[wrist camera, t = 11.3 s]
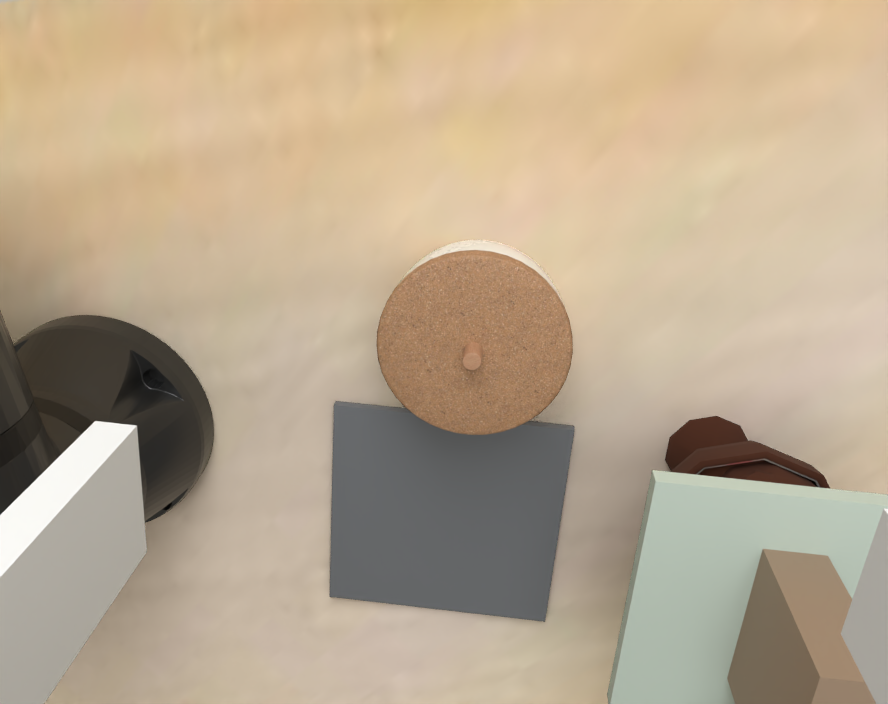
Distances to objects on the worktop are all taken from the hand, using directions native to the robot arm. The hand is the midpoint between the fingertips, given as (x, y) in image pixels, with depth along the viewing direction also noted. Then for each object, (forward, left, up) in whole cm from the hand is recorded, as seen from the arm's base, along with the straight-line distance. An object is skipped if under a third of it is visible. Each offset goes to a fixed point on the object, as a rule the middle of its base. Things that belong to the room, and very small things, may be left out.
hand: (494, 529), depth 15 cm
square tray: (-2, -25, -37) cm, 44 cm away
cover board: (+15, -18, -22) cm, 32 cm away
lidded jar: (-1, -9, -37) cm, 38 cm away
